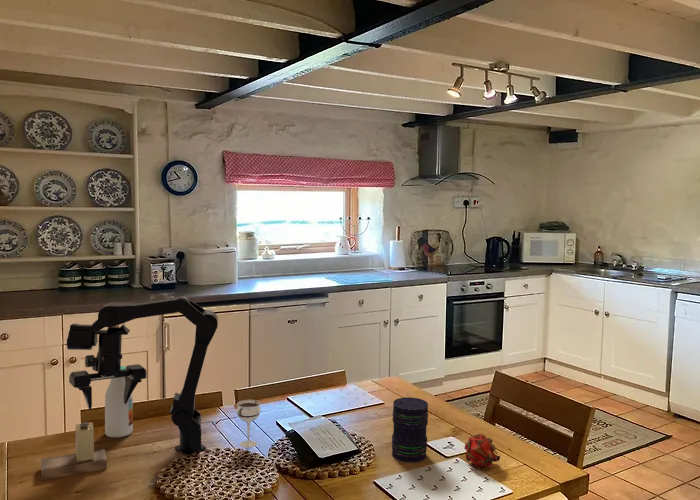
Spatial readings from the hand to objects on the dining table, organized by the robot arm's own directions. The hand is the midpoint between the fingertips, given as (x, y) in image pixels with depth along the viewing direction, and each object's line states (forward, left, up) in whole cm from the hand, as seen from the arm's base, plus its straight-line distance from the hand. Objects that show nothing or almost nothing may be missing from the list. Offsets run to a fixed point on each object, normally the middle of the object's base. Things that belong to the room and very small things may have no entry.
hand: (107, 406), depth 157 cm
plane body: (-3, +10, -14) cm, 17 cm away
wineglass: (-20, -32, -14) cm, 40 cm away
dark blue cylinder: (-56, -61, -14) cm, 84 cm away
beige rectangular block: (-3, +7, -11) cm, 13 cm away
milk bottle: (+12, -8, -14) cm, 20 cm away
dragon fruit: (-73, -71, -14) cm, 103 cm away
